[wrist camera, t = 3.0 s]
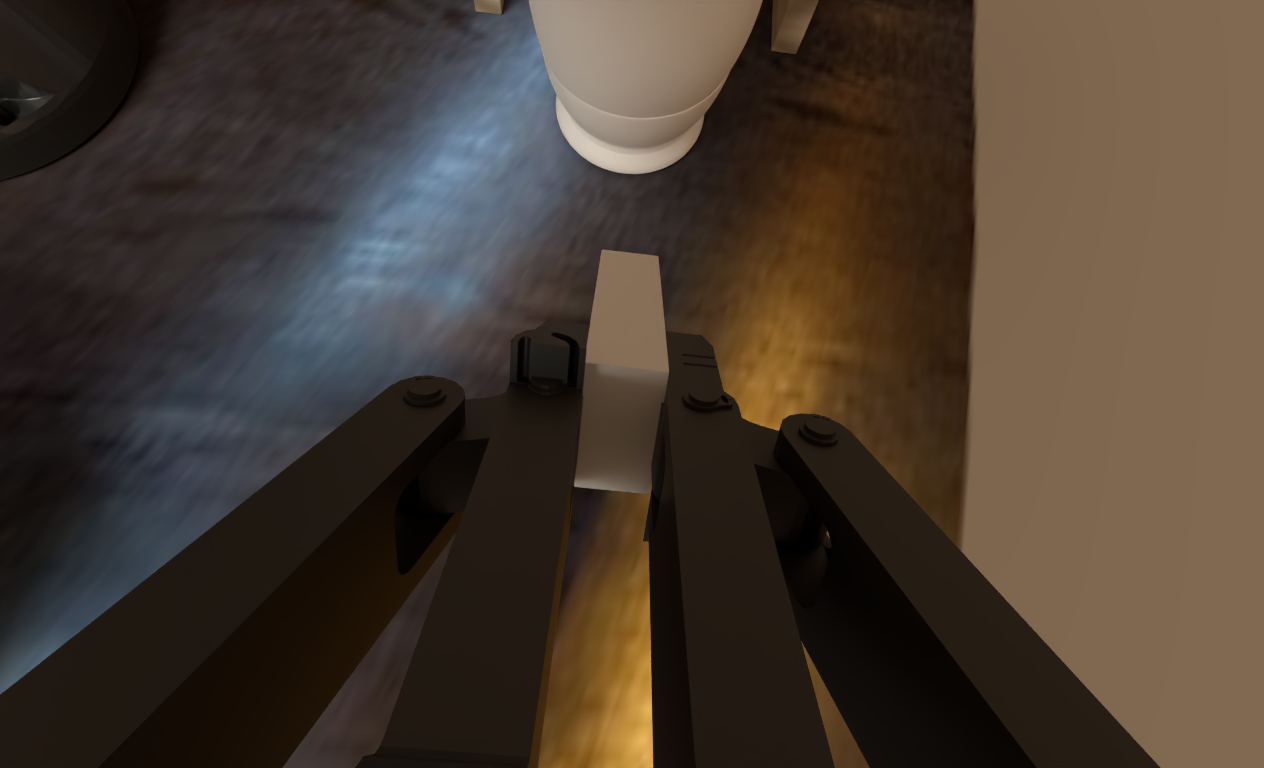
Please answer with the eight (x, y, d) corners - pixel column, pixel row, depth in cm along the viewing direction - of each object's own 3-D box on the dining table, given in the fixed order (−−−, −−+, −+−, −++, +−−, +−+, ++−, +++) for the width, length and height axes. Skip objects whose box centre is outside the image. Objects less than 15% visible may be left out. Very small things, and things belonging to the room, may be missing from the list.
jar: (564, 17, 38) (556, -321, 23) (735, 59, 38) (831, -250, 23) (515, 168, 35) (471, -111, 20) (700, 214, 35) (786, -31, 20)
